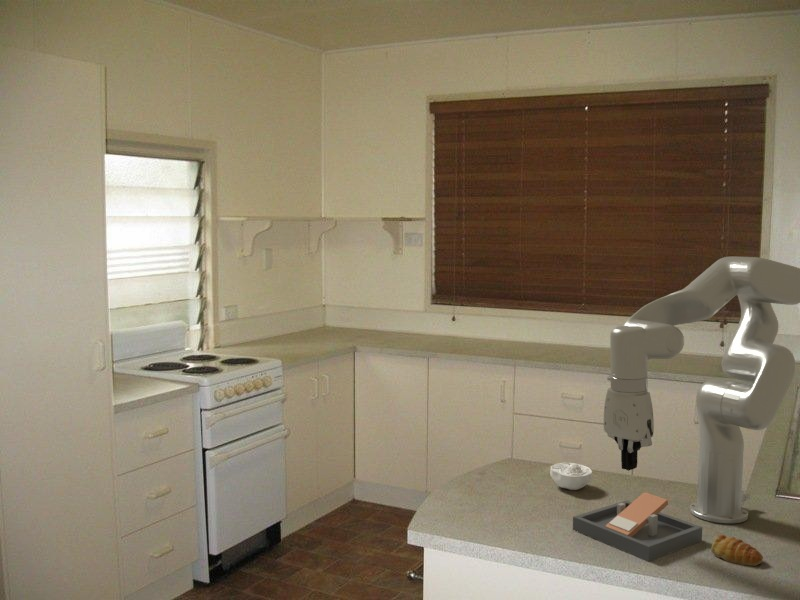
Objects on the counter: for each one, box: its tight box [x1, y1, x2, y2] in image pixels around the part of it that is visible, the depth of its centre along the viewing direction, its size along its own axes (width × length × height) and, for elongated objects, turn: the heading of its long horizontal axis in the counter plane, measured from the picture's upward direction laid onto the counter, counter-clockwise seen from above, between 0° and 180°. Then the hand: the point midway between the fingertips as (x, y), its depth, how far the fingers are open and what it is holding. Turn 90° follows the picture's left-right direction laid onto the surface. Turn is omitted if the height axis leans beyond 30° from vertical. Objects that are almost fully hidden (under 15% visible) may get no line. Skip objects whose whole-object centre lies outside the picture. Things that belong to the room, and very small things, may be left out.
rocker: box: [605, 491, 669, 537], centre depth 169 cm, size 14×7×2 cm, turn 125°
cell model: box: [549, 461, 593, 491], centre depth 201 cm, size 10×12×7 cm
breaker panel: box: [572, 500, 703, 562], centre depth 169 cm, size 18×20×6 cm
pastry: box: [710, 534, 764, 567], centre depth 158 cm, size 9×7×4 cm
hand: (629, 468), depth 168 cm, fingers closed
